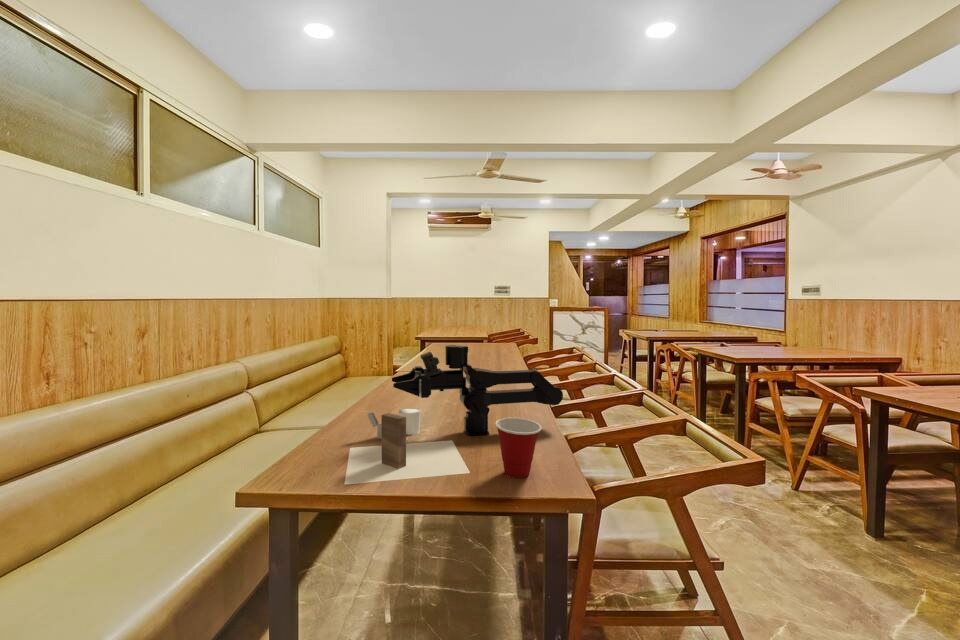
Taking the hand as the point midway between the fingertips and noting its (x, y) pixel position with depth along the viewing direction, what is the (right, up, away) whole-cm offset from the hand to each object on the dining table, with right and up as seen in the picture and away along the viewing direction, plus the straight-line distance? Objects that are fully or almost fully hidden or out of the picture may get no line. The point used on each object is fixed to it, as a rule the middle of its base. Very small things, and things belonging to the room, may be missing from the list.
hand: (392, 382), depth 125 cm
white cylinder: (+4, -17, +6) cm, 18 cm away
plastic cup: (+34, -18, -25) cm, 46 cm away
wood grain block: (+4, -17, -21) cm, 27 cm away
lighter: (-4, -17, 0) cm, 17 cm away
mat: (+7, -17, -17) cm, 25 cm away
